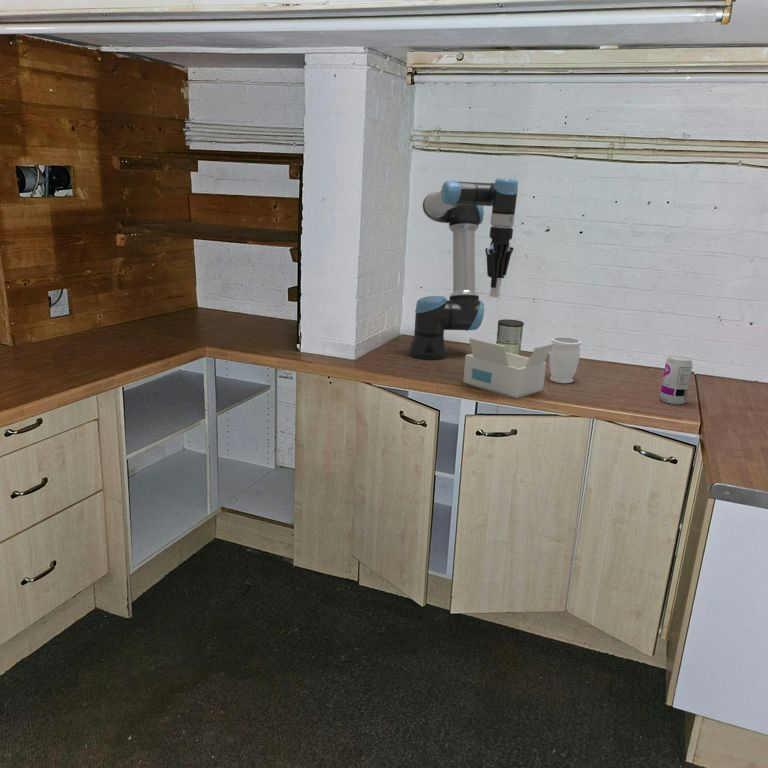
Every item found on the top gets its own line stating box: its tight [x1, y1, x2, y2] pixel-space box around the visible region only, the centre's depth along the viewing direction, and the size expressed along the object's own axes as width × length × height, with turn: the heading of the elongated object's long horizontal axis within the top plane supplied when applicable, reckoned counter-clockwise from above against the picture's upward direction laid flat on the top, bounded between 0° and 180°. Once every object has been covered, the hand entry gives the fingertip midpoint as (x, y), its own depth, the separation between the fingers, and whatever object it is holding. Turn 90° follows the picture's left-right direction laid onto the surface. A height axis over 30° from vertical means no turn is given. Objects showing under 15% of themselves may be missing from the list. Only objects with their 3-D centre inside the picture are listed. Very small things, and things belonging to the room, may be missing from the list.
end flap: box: [525, 342, 554, 368], centre depth 227 cm, size 8×10×1 cm
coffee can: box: [496, 318, 525, 356], centre depth 283 cm, size 10×10×14 cm
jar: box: [548, 336, 582, 384], centre depth 250 cm, size 11×10×15 cm
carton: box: [462, 352, 547, 400], centre depth 239 cm, size 23×17×10 cm
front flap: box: [468, 337, 509, 367], centre depth 229 cm, size 14×8×1 cm
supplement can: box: [659, 355, 694, 406], centre depth 231 cm, size 8×8×15 cm
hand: (494, 296), depth 239 cm, fingers closed
